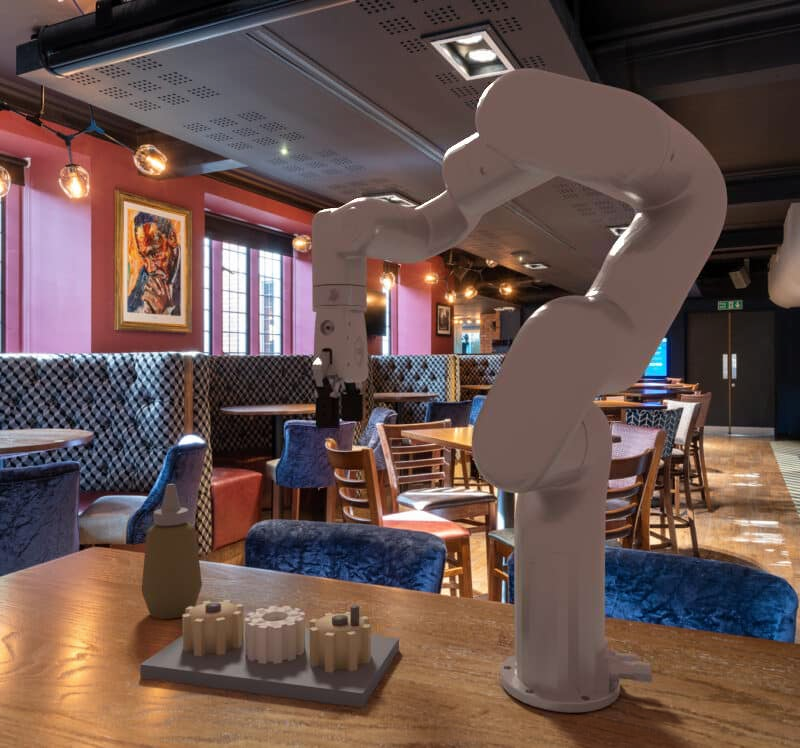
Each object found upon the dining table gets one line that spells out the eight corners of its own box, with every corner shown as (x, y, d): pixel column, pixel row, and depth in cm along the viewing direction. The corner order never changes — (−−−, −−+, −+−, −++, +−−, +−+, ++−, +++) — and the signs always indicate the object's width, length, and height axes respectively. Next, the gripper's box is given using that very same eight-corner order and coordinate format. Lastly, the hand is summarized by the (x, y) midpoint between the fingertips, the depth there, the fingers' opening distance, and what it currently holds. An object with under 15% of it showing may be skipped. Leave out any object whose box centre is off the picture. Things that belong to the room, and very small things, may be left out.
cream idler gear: (313, 641, 81) (313, 608, 81) (290, 666, 74) (289, 630, 74) (262, 636, 82) (261, 603, 82) (234, 659, 76) (234, 624, 76)
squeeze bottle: (183, 625, 90) (182, 491, 89) (129, 621, 91) (127, 489, 91) (212, 604, 97) (211, 480, 97) (161, 600, 99) (160, 478, 99)
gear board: (399, 650, 82) (398, 588, 81) (362, 708, 68) (362, 634, 68) (207, 629, 88) (207, 572, 88) (140, 677, 75) (139, 610, 75)
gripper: (344, 294, 84) (344, 431, 84) (383, 305, 101) (384, 419, 101) (288, 296, 86) (289, 430, 86) (336, 306, 103) (336, 418, 103)
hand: (340, 424), depth 94 cm, fingers open, 9 cm apart
